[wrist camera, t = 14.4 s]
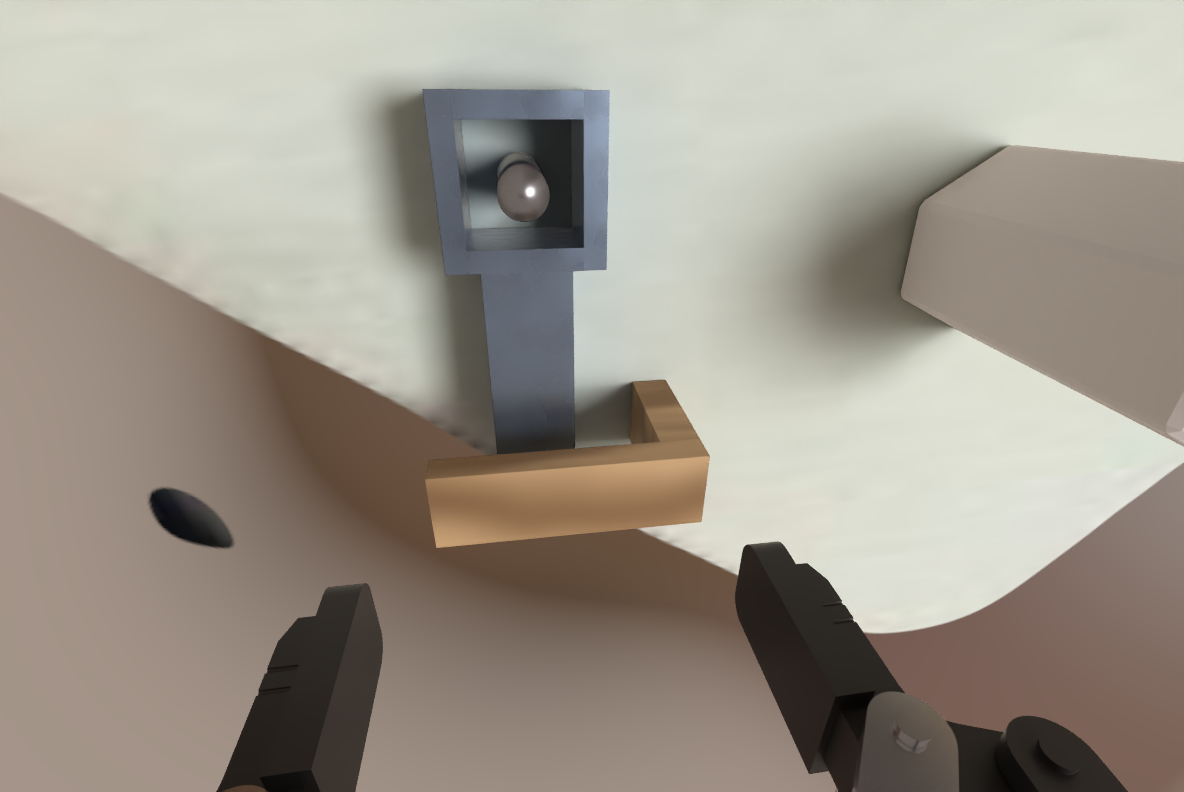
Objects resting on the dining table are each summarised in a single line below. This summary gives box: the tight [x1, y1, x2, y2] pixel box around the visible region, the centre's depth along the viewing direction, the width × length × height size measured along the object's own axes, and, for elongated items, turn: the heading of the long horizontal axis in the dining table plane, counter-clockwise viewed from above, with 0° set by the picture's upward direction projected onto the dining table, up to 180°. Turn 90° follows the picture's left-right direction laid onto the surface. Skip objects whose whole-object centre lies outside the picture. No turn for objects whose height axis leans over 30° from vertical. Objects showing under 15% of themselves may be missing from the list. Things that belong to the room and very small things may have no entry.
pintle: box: [497, 152, 550, 222], centre depth 24 cm, size 2×2×6 cm
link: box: [423, 89, 609, 455], centre depth 28 cm, size 20×7×4 cm, turn 0°
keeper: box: [425, 380, 710, 548], centre depth 30 cm, size 4×13×8 cm, turn 90°
